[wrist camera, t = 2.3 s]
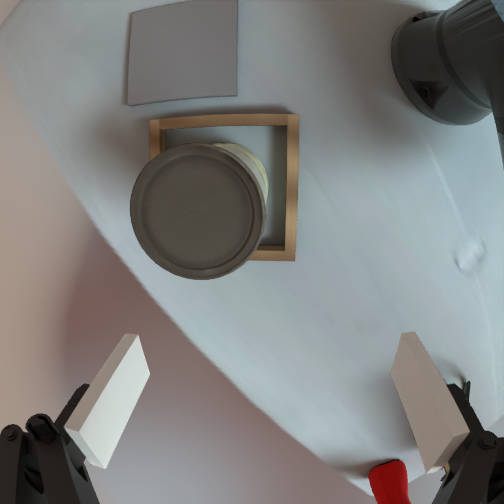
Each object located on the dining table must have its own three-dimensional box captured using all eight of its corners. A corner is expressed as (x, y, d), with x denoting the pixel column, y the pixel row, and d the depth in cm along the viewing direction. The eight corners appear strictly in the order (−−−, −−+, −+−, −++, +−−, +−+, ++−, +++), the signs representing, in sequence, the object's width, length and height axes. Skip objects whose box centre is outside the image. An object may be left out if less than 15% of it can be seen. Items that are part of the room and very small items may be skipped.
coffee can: (235, 245, 37) (213, 304, 24) (166, 196, 36) (109, 229, 22) (288, 177, 34) (296, 200, 21) (214, 124, 32) (175, 115, 19)
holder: (155, 120, 32) (149, 120, 31) (297, 116, 31) (299, 114, 29) (163, 251, 38) (158, 257, 36) (294, 255, 37) (294, 261, 35)
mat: (135, 15, 27) (132, 12, 26) (237, 0, 26) (236, -4, 26) (131, 106, 32) (127, 105, 31) (237, 96, 31) (236, 94, 30)
